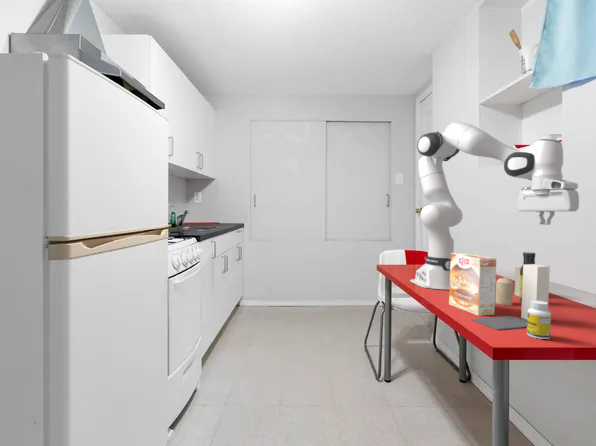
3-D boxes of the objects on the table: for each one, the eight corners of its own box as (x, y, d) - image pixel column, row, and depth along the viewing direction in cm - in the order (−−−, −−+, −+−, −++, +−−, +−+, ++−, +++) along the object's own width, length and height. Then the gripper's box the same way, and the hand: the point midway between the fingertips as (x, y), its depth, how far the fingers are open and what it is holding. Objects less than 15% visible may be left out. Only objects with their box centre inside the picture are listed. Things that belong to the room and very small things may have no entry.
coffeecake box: (448, 304, 132) (449, 253, 131) (464, 303, 134) (466, 252, 133) (477, 316, 117) (479, 258, 117) (495, 315, 119) (497, 257, 119)
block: (521, 319, 115) (523, 264, 114) (532, 318, 116) (535, 264, 116) (535, 323, 110) (537, 266, 110) (547, 322, 112) (549, 266, 111)
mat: (471, 320, 112) (471, 318, 112) (510, 317, 117) (511, 315, 117) (497, 330, 103) (497, 328, 103) (539, 326, 107) (539, 325, 107)
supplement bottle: (522, 332, 101) (524, 299, 101) (542, 334, 100) (544, 300, 100) (533, 339, 96) (534, 304, 95) (554, 340, 95) (556, 304, 95)
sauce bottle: (531, 301, 140) (533, 251, 140) (541, 305, 134) (544, 253, 133) (515, 300, 140) (517, 251, 140) (525, 304, 134) (527, 253, 134)
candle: (514, 306, 132) (515, 279, 131) (498, 305, 133) (499, 278, 133) (508, 302, 137) (509, 277, 137) (493, 301, 138) (494, 276, 138)
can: (527, 298, 144) (528, 269, 144) (508, 293, 153) (510, 266, 153) (545, 298, 146) (546, 269, 146) (526, 293, 155) (527, 266, 155)
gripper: (513, 186, 132) (512, 223, 133) (569, 182, 113) (567, 225, 113) (526, 187, 134) (525, 223, 135) (583, 183, 115) (581, 225, 115)
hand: (544, 224), depth 124 cm, fingers closed
